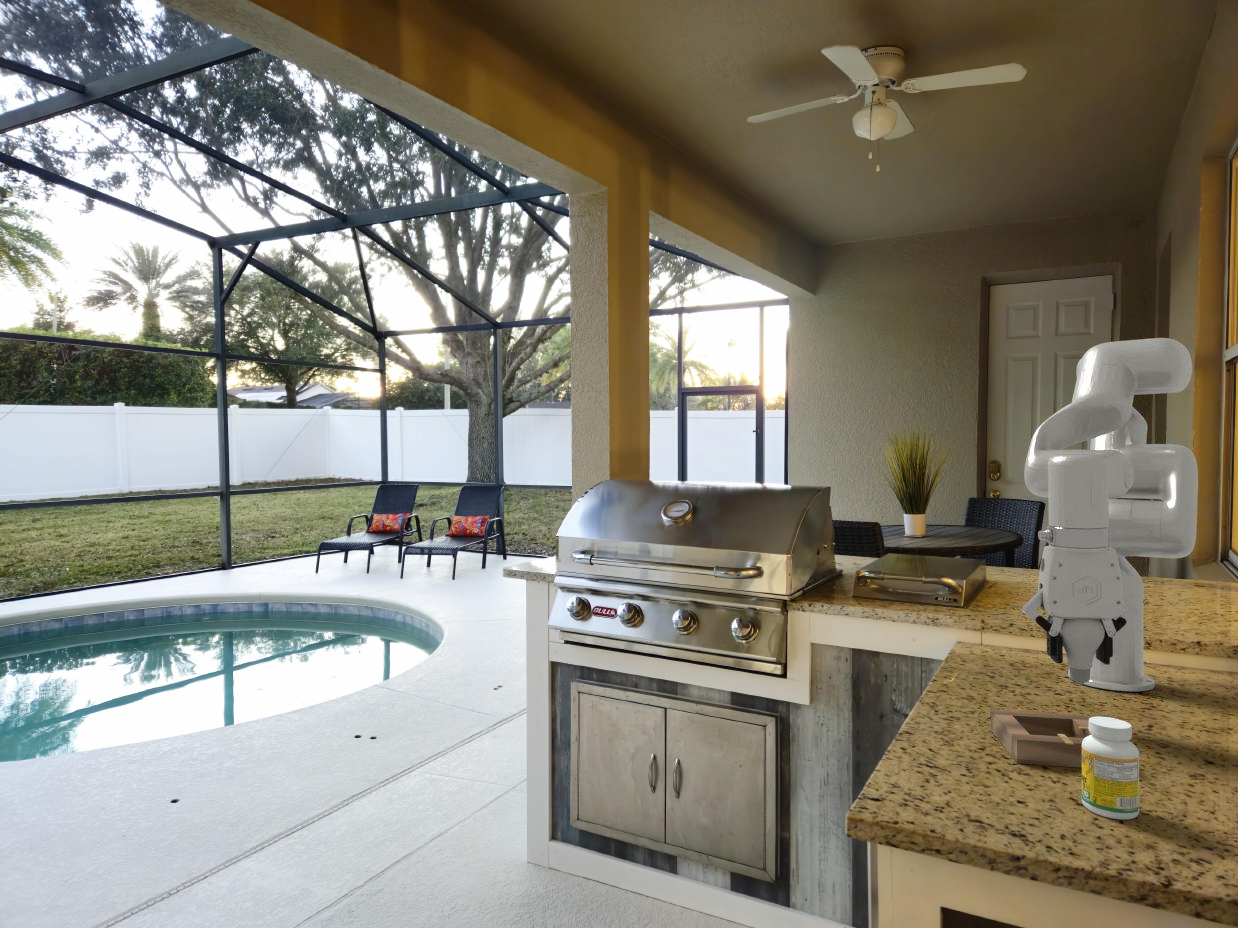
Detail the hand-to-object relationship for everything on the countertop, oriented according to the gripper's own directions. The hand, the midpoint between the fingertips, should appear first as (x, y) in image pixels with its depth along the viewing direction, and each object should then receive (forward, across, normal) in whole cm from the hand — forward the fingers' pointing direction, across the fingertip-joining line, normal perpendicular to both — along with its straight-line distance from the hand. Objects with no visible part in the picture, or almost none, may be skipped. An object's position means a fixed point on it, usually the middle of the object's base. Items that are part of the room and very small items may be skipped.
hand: (1079, 659), depth 112 cm
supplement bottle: (+8, -8, -31) cm, 33 cm away
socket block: (+8, -8, -13) cm, 17 cm away
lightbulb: (+4, 0, 0) cm, 4 cm away
